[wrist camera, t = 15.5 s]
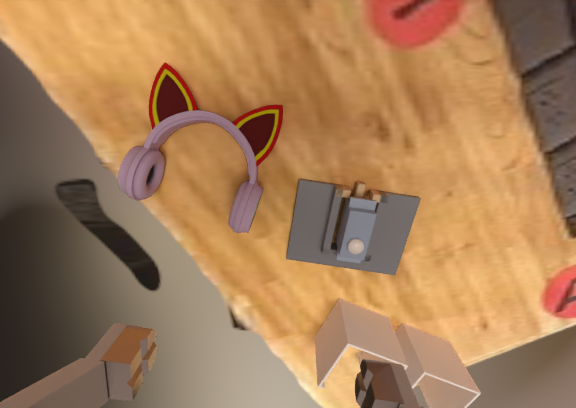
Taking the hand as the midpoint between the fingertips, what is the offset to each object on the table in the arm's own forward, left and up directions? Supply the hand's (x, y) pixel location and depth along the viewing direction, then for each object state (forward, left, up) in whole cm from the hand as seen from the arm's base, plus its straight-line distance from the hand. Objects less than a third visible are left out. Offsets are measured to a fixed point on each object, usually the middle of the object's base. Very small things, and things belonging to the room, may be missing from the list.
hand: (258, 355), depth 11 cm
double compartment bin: (-24, +34, -38) cm, 56 cm away
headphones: (+13, 0, -38) cm, 40 cm away
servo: (-12, +9, -37) cm, 40 cm away
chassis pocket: (-12, +11, -37) cm, 40 cm away
